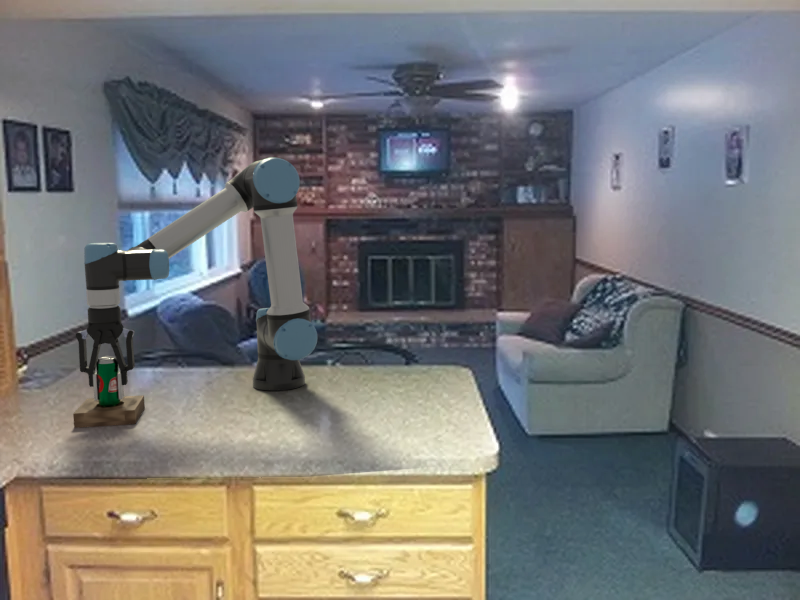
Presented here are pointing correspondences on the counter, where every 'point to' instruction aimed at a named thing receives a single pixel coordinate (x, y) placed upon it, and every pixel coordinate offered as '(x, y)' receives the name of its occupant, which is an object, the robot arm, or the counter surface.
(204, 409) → the counter surface
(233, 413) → the counter surface
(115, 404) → the soda can
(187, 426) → the counter surface
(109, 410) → the board
